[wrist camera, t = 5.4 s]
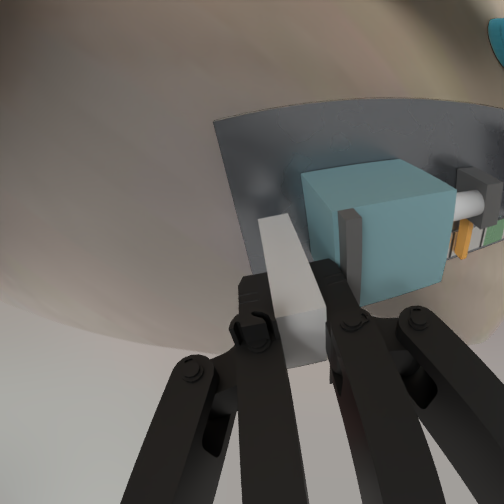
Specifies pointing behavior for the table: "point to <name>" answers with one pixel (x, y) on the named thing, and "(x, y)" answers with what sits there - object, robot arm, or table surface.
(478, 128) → the rail base
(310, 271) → the robot arm
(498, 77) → the table surface
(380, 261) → the block
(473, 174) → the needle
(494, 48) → the tube
